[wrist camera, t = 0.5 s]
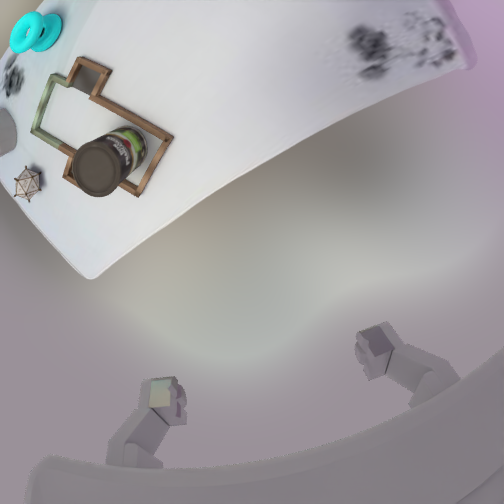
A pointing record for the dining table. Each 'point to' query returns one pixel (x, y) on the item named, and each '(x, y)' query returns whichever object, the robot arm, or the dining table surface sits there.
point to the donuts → (35, 32)
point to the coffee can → (108, 160)
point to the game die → (27, 184)
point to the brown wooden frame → (92, 82)
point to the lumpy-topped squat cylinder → (7, 132)
